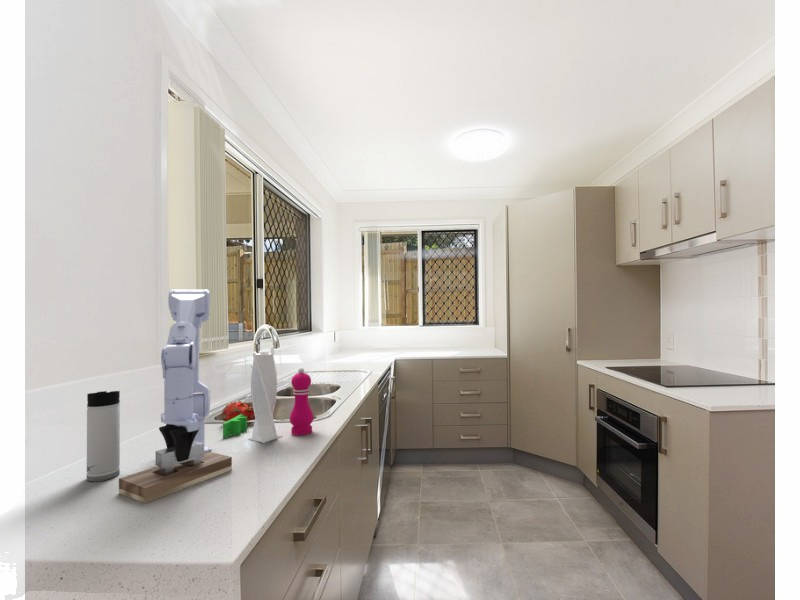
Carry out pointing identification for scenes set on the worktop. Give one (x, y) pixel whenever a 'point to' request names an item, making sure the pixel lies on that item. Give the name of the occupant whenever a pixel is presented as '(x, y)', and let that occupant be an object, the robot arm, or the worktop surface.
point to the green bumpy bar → (235, 426)
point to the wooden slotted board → (172, 478)
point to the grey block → (168, 458)
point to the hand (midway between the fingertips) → (178, 458)
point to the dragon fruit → (238, 411)
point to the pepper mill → (301, 405)
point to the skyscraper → (264, 396)
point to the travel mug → (103, 435)
